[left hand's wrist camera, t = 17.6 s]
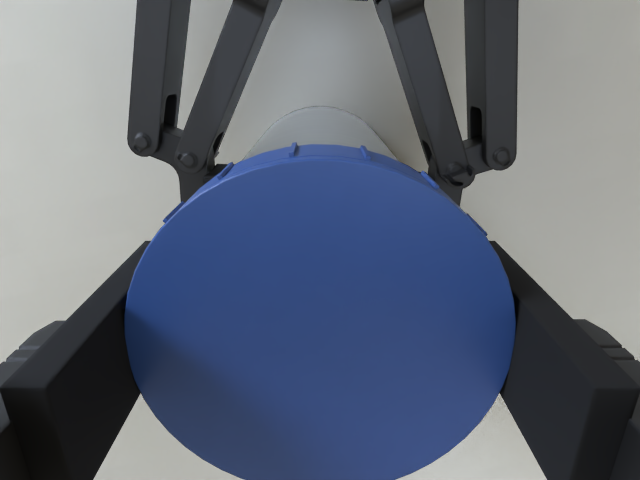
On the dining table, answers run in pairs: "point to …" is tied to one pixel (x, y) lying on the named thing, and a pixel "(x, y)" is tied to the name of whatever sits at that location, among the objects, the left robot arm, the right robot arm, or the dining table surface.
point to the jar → (320, 131)
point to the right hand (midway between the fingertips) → (316, 304)
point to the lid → (320, 318)
